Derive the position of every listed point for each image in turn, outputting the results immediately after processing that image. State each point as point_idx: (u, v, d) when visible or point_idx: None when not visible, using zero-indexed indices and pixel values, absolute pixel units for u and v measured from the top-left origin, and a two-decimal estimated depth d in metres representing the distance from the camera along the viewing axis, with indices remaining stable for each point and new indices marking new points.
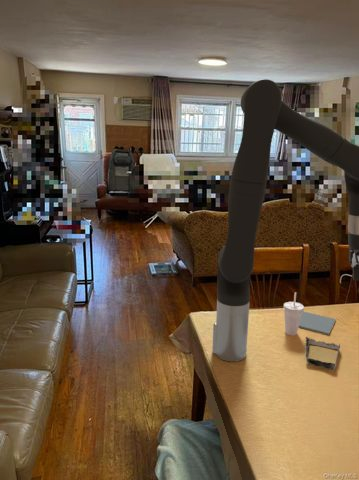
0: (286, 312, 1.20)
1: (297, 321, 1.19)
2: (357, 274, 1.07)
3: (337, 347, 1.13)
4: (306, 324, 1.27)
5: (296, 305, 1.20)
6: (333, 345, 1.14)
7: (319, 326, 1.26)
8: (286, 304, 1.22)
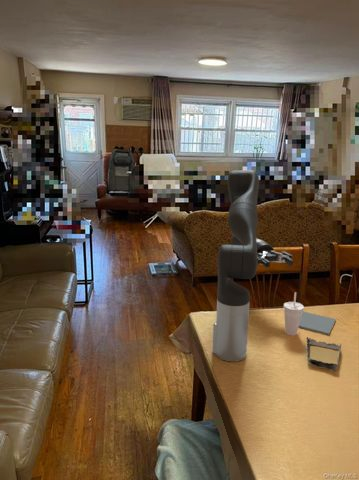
0: (286, 312, 1.20)
1: (297, 321, 1.19)
2: None
3: (338, 347, 1.13)
4: (306, 324, 1.27)
5: (296, 305, 1.20)
6: (334, 345, 1.14)
7: (319, 326, 1.26)
8: (286, 304, 1.22)
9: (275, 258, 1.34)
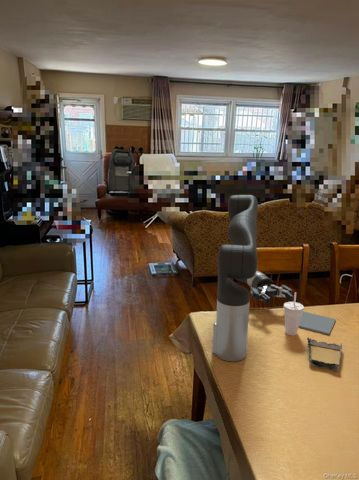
0: (286, 312, 1.20)
1: (297, 321, 1.19)
2: None
3: (339, 347, 1.13)
4: (306, 324, 1.27)
5: (296, 305, 1.20)
6: (335, 345, 1.14)
7: (319, 326, 1.26)
8: (286, 304, 1.22)
9: (275, 293, 1.35)
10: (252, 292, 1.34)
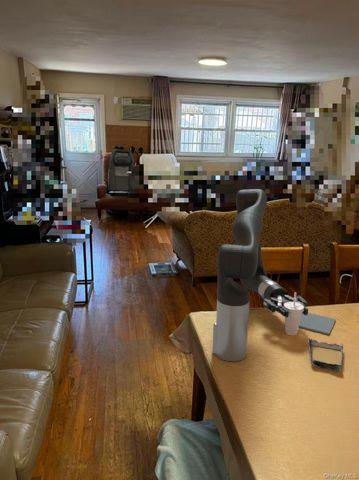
0: None
1: (297, 321, 1.19)
2: None
3: (339, 347, 1.13)
4: (306, 324, 1.27)
5: (296, 305, 1.20)
6: (335, 345, 1.14)
7: (319, 326, 1.26)
8: (286, 304, 1.21)
9: None
10: (266, 304, 1.24)
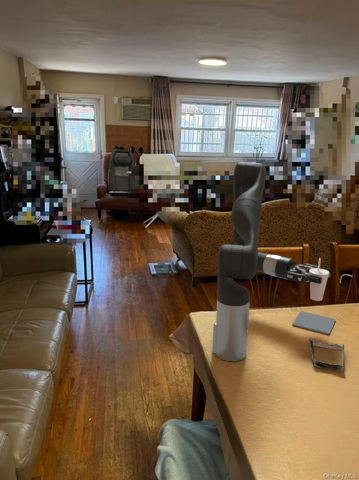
0: None
1: (325, 285, 1.22)
2: None
3: (340, 348, 1.13)
4: (306, 324, 1.27)
5: (321, 270, 1.23)
6: (336, 346, 1.14)
7: (319, 326, 1.26)
8: (312, 271, 1.22)
9: (307, 272, 1.26)
10: (293, 276, 1.22)
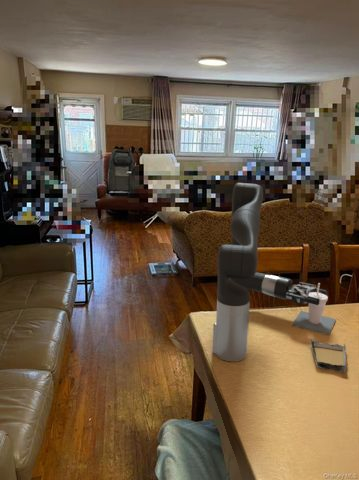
0: None
1: (323, 309, 1.27)
2: None
3: (342, 348, 1.13)
4: (306, 324, 1.27)
5: (319, 294, 1.27)
6: (337, 346, 1.13)
7: (319, 326, 1.26)
8: (311, 296, 1.26)
9: (305, 292, 1.30)
10: (292, 297, 1.25)
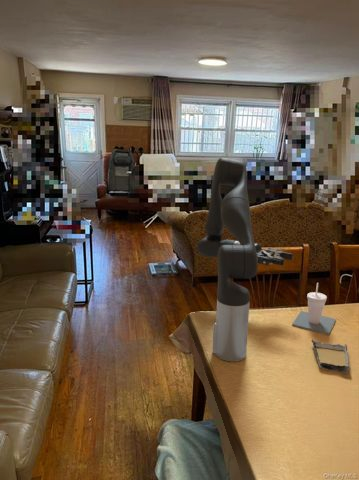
0: (315, 303, 1.25)
1: None
2: None
3: (343, 348, 1.13)
4: (306, 324, 1.27)
5: (318, 294, 1.27)
6: (339, 346, 1.13)
7: (319, 326, 1.26)
8: (310, 296, 1.26)
9: (273, 255, 1.35)
10: (258, 259, 1.29)
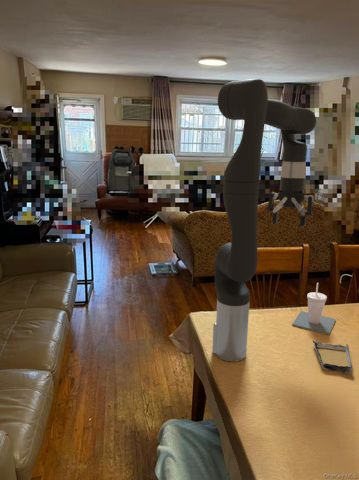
0: (315, 303, 1.25)
1: None
2: (277, 218, 1.25)
3: (344, 348, 1.13)
4: (306, 324, 1.27)
5: (318, 294, 1.27)
6: (340, 346, 1.13)
7: (319, 326, 1.26)
8: (310, 296, 1.26)
9: None
10: None
